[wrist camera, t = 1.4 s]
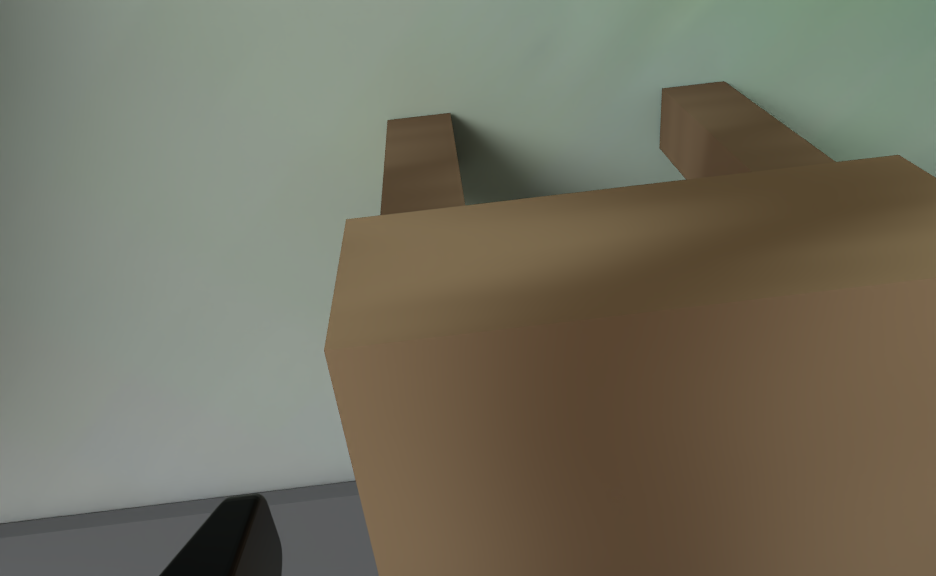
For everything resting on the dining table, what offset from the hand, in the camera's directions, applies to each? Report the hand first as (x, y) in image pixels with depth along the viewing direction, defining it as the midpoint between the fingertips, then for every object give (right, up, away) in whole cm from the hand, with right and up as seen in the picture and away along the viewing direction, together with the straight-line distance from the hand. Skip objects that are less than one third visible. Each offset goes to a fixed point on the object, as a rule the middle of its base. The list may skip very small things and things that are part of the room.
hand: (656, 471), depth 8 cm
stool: (0, +3, +5) cm, 5 cm away
